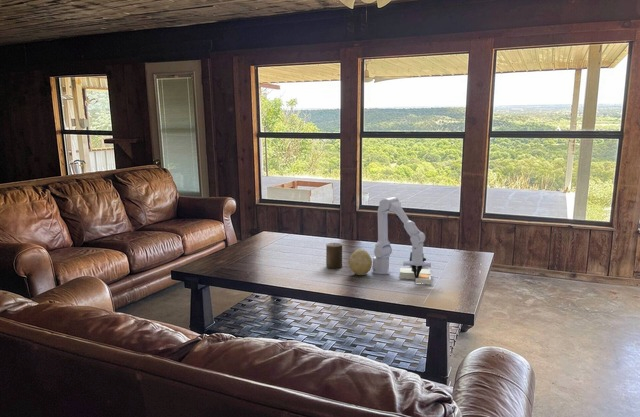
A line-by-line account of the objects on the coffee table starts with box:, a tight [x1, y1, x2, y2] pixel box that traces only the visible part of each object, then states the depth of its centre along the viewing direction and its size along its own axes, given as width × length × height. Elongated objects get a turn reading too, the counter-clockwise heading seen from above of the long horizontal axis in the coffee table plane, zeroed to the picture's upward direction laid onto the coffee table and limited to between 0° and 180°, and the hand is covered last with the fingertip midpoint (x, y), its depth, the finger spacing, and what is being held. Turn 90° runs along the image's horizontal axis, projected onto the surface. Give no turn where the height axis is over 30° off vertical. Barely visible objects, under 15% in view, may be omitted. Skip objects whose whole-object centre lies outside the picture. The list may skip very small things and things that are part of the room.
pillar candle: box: [325, 242, 343, 270], centre depth 275 cm, size 10×10×15 cm
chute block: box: [419, 274, 429, 279], centre depth 249 cm, size 5×5×4 cm
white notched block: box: [399, 267, 432, 285], centre depth 253 cm, size 16×16×4 cm
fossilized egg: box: [348, 248, 373, 276], centre depth 260 cm, size 13×13×15 cm
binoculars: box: [409, 251, 427, 262], centre depth 277 cm, size 9×11×10 cm
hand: (416, 278), depth 250 cm, fingers closed
